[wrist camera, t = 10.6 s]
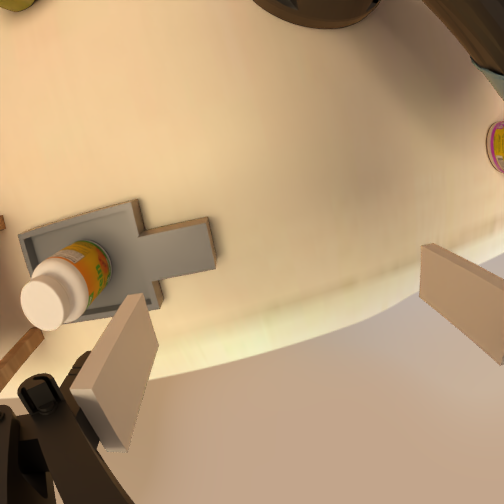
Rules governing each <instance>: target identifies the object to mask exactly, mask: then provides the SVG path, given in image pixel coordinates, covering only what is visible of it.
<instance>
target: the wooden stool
mask: <svg viewBox="0 0 504 504" xmlns="http://www.w3.org/2000/svg"><path fill="white" fill-rule="evenodd" d="M5 228H6V227H5V223H4V219H3V215H1V216H0V230H2V229H5ZM43 340H44V337H43V334H42V332H41V330H40V329H39V328H31V329H30V330H29V331H28V332H27V333H26V334H25V335H24V336H23V337H22V338H21V339H20V340H19V341H18V342H17V343H16V344H15V345H14V347H13V348H12V349H11V350H10V351H9V352H8V353H7V354H6V355H5V356H4V357H3V358H2V360H1V361H0V392H1V391H2V390H3V388H4V387H5V386H6V384H7V383H8V382H9V381H10V379H11V378H12V377H13V376H14V374H15V373H16V372H17V371H18V369H19V368H20V367H21V366H22V364H23V363H24V362H25V361H26V360H27V358H28V357H29V356H30V355H31V354H32V352H33V351H34V350H35V349H36V348H37V346H38V345H39V344H40V343H41V342H42V341H43Z"/></svg>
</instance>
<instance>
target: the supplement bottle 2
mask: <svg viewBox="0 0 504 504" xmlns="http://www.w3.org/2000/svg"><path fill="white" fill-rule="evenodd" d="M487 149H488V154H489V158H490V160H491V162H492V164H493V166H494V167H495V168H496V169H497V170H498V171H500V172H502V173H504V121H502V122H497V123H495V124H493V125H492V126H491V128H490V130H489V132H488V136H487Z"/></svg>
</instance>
